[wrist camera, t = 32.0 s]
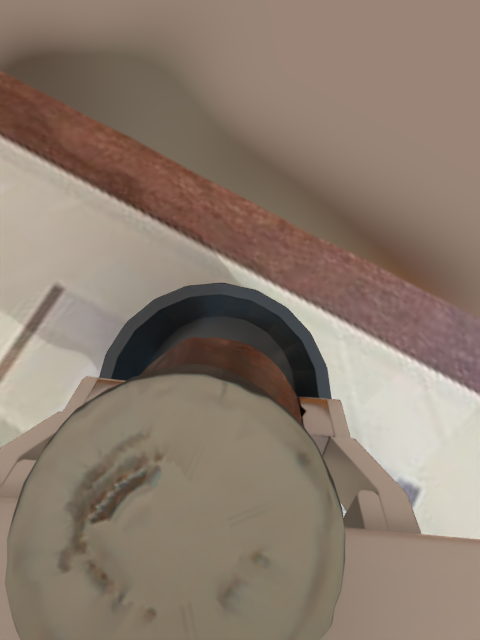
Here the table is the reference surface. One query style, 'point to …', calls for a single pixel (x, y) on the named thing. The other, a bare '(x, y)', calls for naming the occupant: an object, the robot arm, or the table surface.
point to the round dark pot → (220, 333)
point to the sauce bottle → (180, 511)
